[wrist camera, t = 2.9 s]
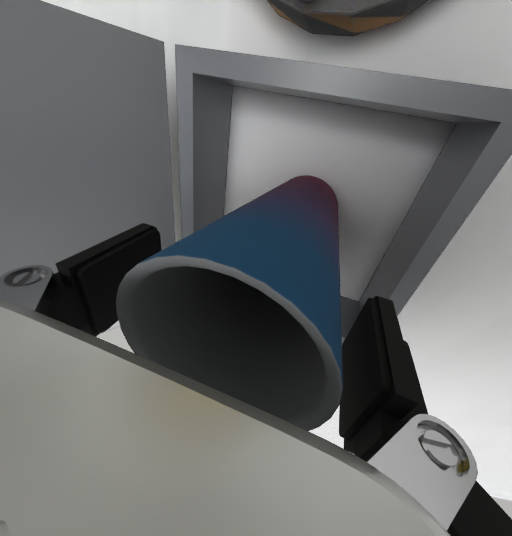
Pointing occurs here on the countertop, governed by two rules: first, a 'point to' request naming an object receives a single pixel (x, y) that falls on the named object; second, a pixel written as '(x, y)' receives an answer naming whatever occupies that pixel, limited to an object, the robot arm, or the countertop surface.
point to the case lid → (78, 134)
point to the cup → (249, 304)
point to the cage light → (343, 14)
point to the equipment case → (357, 94)
